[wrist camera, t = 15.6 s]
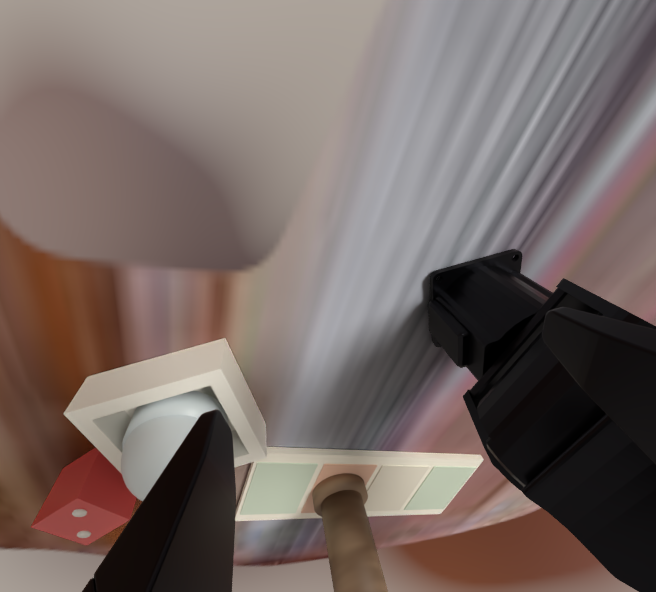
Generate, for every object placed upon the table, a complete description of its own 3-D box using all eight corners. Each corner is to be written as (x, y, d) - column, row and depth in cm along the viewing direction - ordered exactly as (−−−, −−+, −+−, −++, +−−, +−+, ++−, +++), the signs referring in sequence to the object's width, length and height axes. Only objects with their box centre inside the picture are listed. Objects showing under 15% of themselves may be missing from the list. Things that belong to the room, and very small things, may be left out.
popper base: (225, 337, 21) (220, 368, 18) (265, 423, 26) (266, 457, 23) (87, 376, 20) (63, 413, 18) (154, 456, 25) (142, 495, 23)
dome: (209, 372, 21) (195, 448, 16) (240, 429, 24) (236, 507, 19) (116, 398, 20) (74, 485, 16) (160, 453, 23) (136, 539, 19)
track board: (480, 454, 34) (484, 460, 34) (438, 508, 38) (441, 514, 38) (256, 446, 27) (257, 453, 26) (234, 514, 31) (234, 522, 30)
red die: (103, 442, 23) (76, 499, 20) (146, 465, 25) (129, 520, 22) (62, 468, 24) (29, 528, 20) (109, 488, 26) (86, 546, 22)
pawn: (372, 473, 31) (433, 665, 20) (353, 504, 33) (400, 693, 22) (321, 472, 29) (359, 681, 18) (305, 505, 31) (331, 709, 21)
